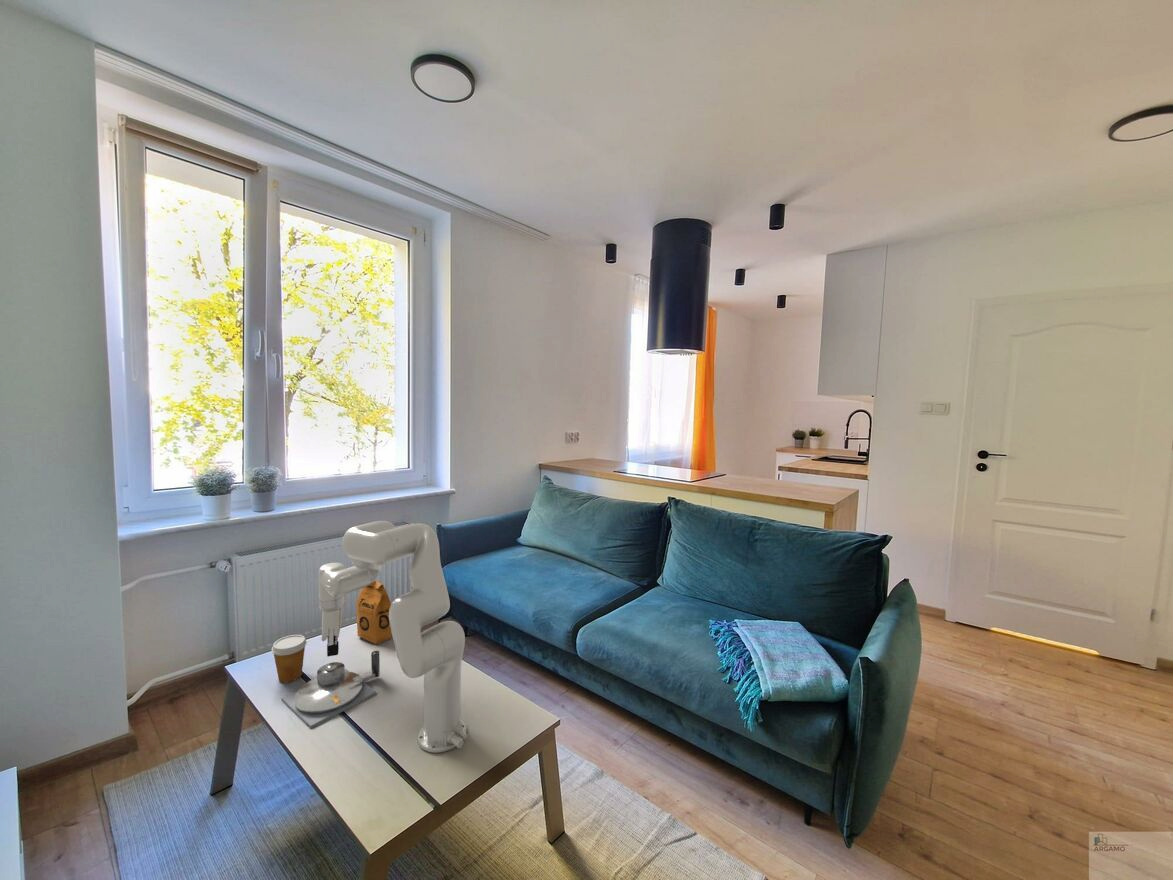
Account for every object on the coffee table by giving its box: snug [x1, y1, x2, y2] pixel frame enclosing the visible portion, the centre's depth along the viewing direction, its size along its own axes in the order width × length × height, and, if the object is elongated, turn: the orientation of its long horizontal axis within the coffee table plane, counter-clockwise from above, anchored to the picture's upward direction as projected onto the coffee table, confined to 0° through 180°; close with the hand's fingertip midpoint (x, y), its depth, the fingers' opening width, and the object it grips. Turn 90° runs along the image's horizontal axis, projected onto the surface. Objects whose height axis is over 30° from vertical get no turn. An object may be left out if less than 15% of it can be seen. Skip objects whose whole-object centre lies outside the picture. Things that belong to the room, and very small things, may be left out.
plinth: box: [280, 668, 377, 729], centre depth 140 cm, size 19×19×1 cm
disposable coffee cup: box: [271, 634, 307, 683], centre depth 148 cm, size 10×10×12 cm
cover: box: [316, 661, 346, 687], centre depth 144 cm, size 8×8×4 cm
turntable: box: [295, 650, 381, 714], centre depth 141 cm, size 24×18×8 cm
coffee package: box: [356, 580, 393, 645], centre depth 173 cm, size 10×12×22 cm
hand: (332, 654), depth 152 cm, fingers closed
